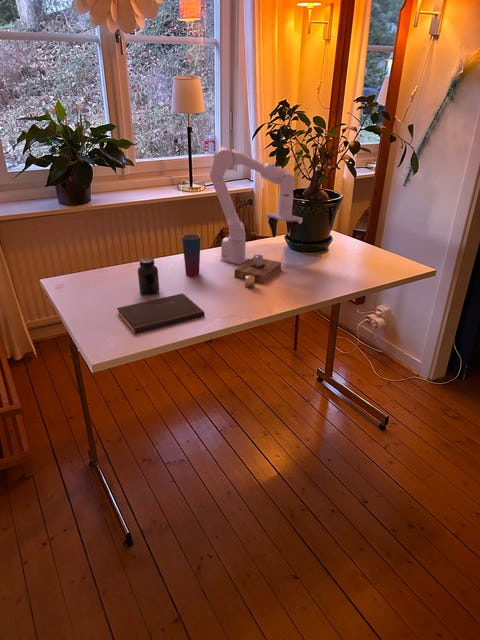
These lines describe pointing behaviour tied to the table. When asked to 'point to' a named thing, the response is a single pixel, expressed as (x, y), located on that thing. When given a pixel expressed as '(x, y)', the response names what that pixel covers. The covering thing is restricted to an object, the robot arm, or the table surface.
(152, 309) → the hardcover book
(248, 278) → the short brass peg
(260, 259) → the long steel peg
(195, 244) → the cup
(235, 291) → the table surface
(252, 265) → the walnut board
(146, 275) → the supplement bottle
